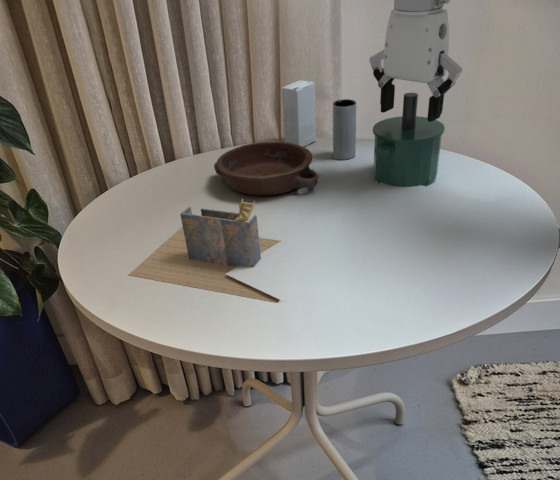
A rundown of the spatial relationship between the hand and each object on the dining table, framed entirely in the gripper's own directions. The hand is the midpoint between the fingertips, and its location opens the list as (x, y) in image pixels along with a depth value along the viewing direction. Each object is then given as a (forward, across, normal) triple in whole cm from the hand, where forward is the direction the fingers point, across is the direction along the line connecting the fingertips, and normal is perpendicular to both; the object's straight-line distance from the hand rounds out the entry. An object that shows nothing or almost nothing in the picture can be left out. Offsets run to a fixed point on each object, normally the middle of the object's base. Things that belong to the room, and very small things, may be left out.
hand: (409, 114), depth 101 cm
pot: (+11, 0, 0) cm, 11 cm away
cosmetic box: (+11, +28, -2) cm, 30 cm away
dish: (+11, +20, +17) cm, 29 cm away
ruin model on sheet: (+11, +5, +42) cm, 44 cm away
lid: (+3, 0, 0) cm, 3 cm away
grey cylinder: (+11, +16, -2) cm, 20 cm away
